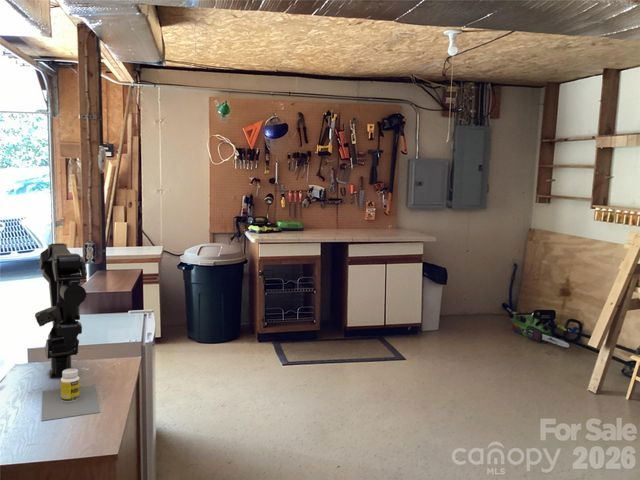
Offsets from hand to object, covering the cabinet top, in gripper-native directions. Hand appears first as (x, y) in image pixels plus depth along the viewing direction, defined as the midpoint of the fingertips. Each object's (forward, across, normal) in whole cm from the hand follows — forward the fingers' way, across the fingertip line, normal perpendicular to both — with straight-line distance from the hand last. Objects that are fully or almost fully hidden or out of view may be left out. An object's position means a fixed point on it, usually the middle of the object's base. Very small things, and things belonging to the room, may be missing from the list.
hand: (69, 350), depth 152 cm
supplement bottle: (+12, +8, 0) cm, 14 cm away
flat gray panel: (+12, +9, 0) cm, 15 cm away
